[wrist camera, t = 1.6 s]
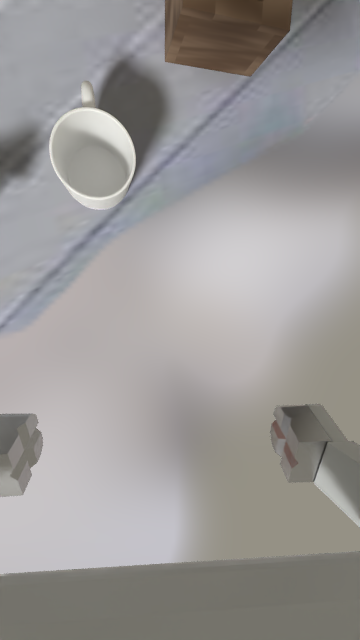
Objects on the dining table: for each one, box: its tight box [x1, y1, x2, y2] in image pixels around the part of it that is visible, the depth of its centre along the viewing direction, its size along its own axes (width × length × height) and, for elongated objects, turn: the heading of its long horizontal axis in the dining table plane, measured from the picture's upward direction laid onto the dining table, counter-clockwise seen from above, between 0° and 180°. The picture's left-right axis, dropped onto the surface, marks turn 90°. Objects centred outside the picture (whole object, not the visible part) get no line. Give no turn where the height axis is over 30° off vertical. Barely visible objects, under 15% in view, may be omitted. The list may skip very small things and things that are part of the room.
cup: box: [49, 81, 136, 210], centre depth 33 cm, size 8×12×10 cm
